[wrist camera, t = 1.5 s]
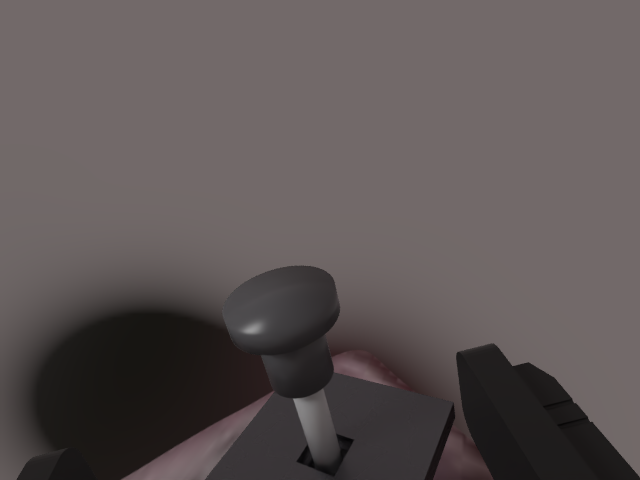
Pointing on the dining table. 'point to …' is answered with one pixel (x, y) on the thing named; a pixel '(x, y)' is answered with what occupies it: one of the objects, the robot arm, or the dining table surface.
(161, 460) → the dining table surface
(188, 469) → the dining table surface
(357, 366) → the dining table surface
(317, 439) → the plunger
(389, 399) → the press
